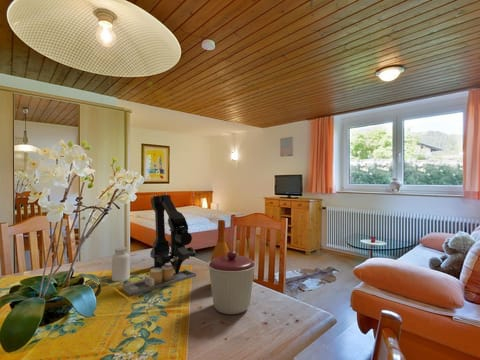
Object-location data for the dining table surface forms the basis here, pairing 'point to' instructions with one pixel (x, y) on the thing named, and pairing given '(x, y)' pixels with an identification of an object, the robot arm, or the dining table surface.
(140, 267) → the dining table surface
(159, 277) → the amber jar
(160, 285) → the tray
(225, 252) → the wine bottle
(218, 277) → the canister
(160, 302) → the dining table surface
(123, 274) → the pill bottle
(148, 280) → the pusher
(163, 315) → the dining table surface
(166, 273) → the amber jar
